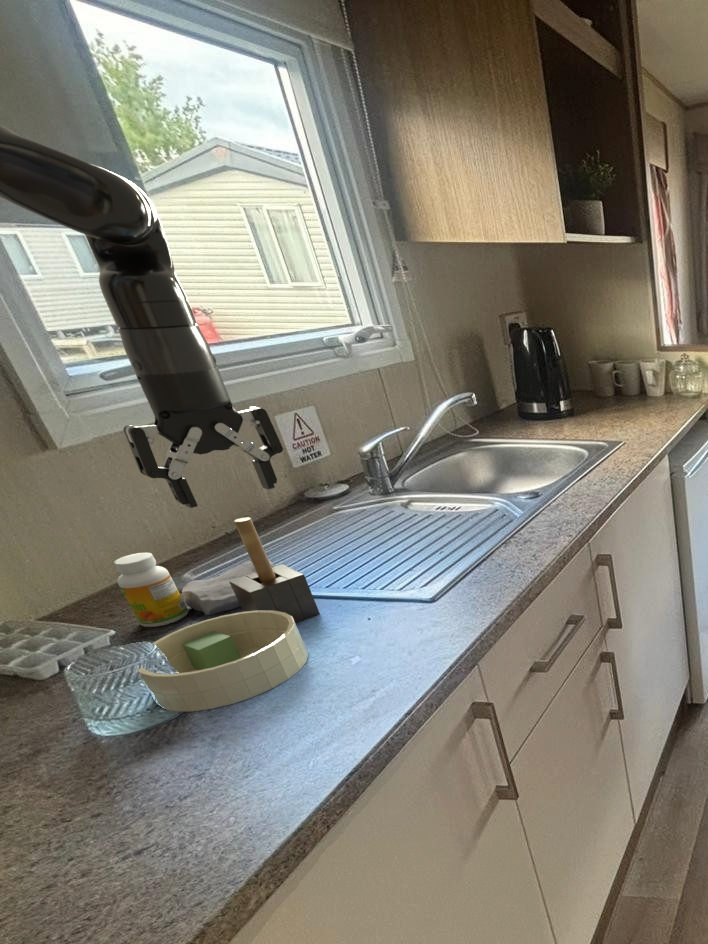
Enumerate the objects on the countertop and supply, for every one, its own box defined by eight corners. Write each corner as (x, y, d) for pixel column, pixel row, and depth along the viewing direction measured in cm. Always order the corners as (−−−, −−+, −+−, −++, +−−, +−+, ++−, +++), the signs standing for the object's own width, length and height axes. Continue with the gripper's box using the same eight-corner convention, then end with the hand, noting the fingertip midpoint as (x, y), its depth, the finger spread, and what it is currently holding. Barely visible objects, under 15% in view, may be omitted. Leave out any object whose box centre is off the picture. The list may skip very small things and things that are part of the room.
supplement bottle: (131, 625, 94) (96, 563, 89) (173, 607, 98) (141, 548, 94) (157, 630, 92) (123, 568, 88) (198, 612, 97) (167, 552, 92)
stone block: (306, 599, 104) (271, 574, 108) (297, 574, 101) (261, 550, 105) (219, 635, 95) (184, 606, 99) (206, 608, 93) (171, 580, 96)
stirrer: (282, 625, 93) (237, 522, 86) (276, 622, 94) (231, 520, 87) (296, 620, 95) (252, 518, 87) (290, 616, 96) (247, 516, 88)
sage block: (211, 674, 81) (198, 650, 80) (194, 668, 83) (181, 644, 81) (242, 660, 84) (230, 636, 83) (225, 654, 86) (213, 630, 84)
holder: (270, 637, 90) (249, 592, 87) (249, 625, 94) (228, 581, 90) (321, 617, 95) (304, 574, 92) (300, 606, 99) (282, 563, 95)
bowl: (186, 732, 73) (162, 691, 70) (137, 689, 80) (114, 651, 77) (332, 666, 84) (317, 629, 81) (277, 634, 91) (262, 600, 88)
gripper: (233, 357, 85) (279, 478, 93) (85, 372, 75) (151, 507, 82) (259, 361, 82) (305, 487, 89) (107, 378, 71) (174, 518, 79)
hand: (231, 497), depth 86 cm, fingers open, 8 cm apart
